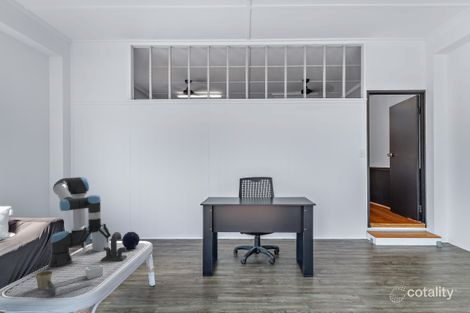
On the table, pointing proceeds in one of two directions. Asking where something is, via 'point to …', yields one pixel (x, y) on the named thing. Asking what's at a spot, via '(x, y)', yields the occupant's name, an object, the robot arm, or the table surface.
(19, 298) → the table surface
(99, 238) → the utensil holder
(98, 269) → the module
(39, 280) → the flower pot
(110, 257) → the faucet
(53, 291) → the rail
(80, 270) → the table surface
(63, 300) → the table surface
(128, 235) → the decorative orb
